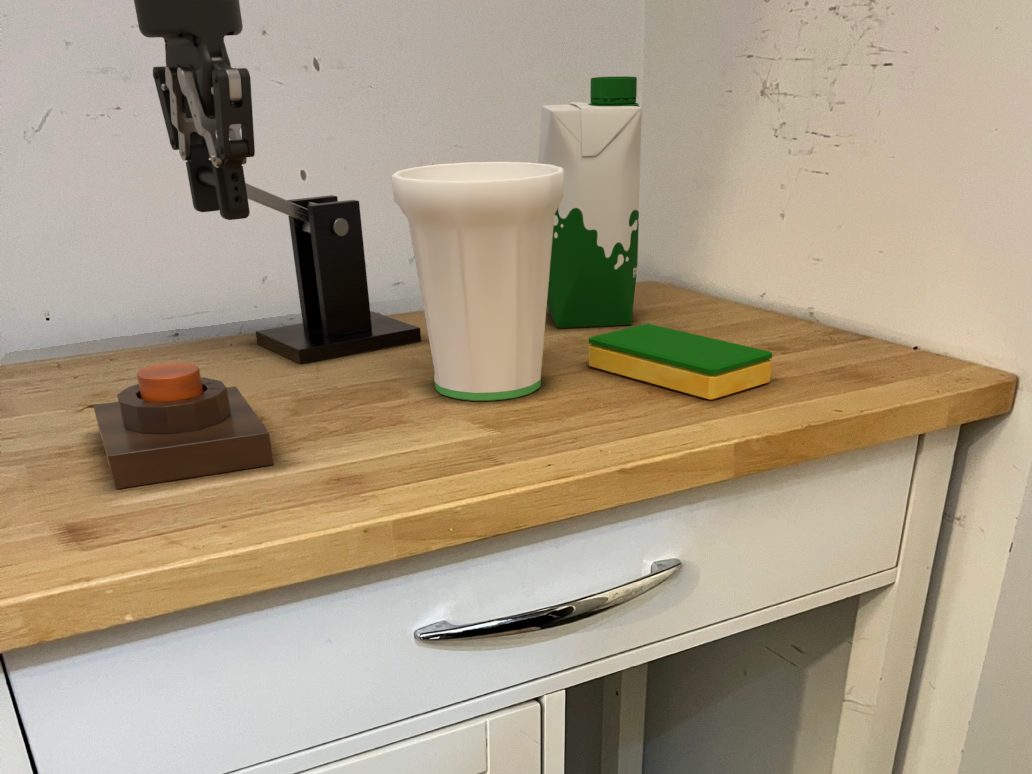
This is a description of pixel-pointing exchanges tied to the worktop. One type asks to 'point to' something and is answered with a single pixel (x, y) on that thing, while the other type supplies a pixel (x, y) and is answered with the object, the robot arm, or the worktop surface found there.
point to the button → (169, 382)
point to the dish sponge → (680, 360)
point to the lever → (261, 198)
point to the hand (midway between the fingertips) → (221, 213)
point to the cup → (483, 270)
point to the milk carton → (595, 204)
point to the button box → (181, 435)
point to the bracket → (333, 290)
